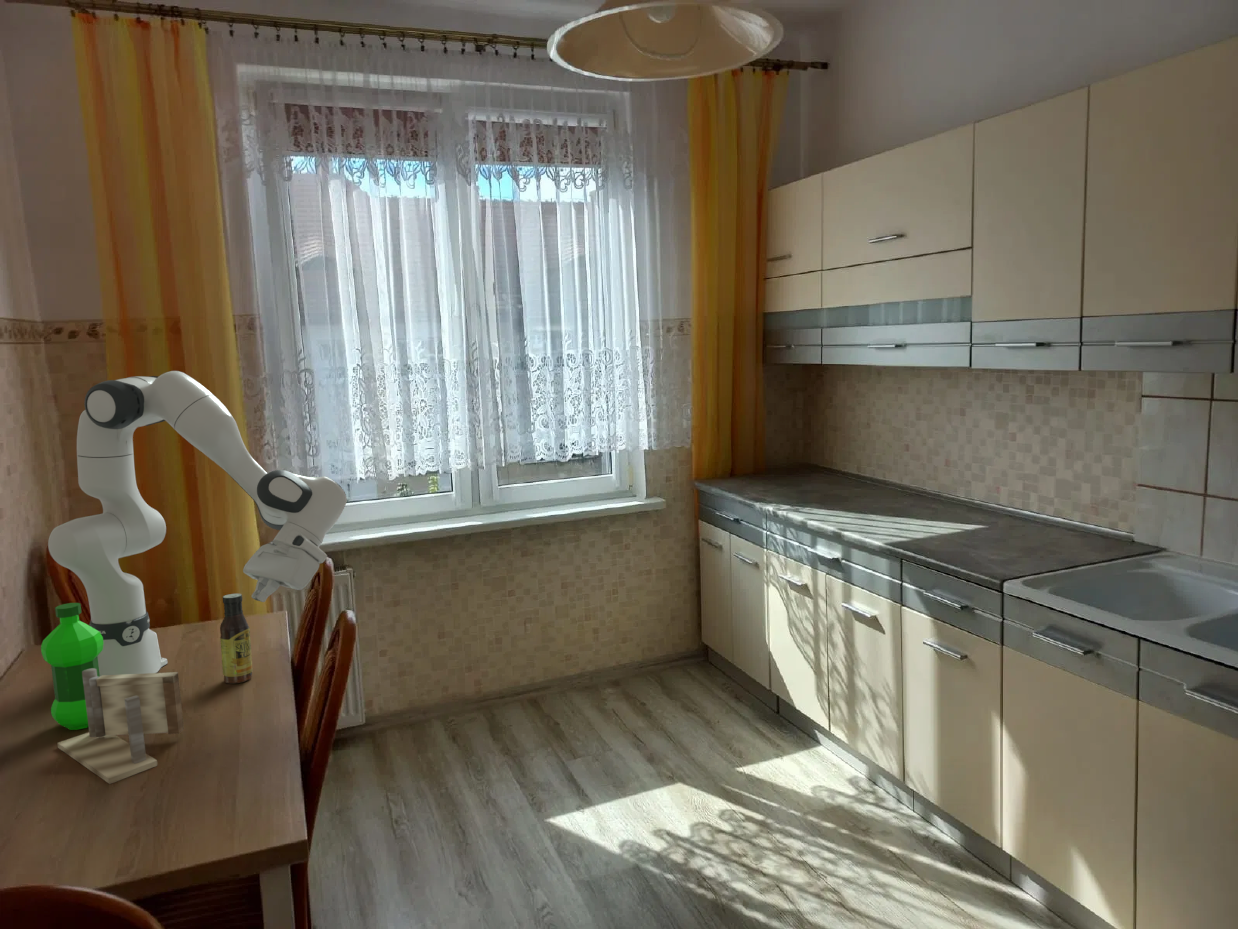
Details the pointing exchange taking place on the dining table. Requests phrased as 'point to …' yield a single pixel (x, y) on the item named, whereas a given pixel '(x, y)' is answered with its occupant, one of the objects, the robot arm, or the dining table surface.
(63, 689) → the plastic bottle
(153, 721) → the gate
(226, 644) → the sauce bottle
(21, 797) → the dining table surface
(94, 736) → the wooden stand
